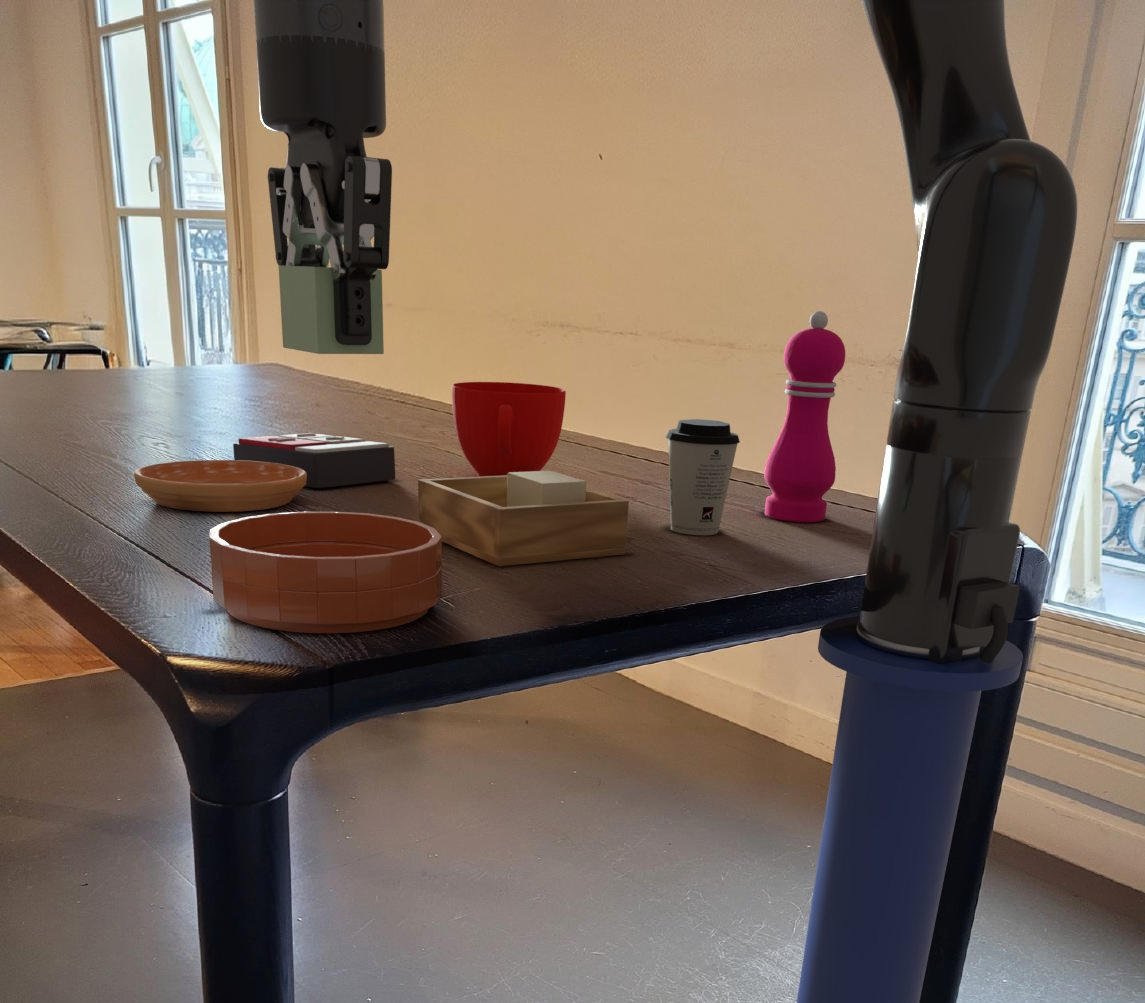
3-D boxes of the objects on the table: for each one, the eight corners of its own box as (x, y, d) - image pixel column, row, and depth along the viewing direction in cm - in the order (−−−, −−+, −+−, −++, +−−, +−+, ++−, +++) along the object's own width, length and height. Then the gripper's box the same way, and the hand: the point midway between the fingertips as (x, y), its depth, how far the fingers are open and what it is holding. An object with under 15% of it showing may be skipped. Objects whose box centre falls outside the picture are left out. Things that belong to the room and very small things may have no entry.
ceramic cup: (443, 489, 124) (443, 392, 120) (455, 465, 140) (456, 379, 136) (562, 494, 125) (566, 399, 121) (561, 470, 140) (565, 385, 136)
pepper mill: (801, 526, 115) (828, 312, 107) (745, 513, 120) (767, 308, 112) (843, 519, 119) (872, 313, 112) (788, 507, 124) (812, 309, 116)
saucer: (138, 487, 116) (135, 457, 115) (299, 487, 121) (297, 458, 120) (135, 518, 102) (131, 484, 101) (317, 516, 107) (315, 484, 106)
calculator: (311, 430, 135) (395, 439, 126) (313, 468, 136) (397, 479, 127) (230, 436, 127) (314, 446, 118) (234, 475, 129) (317, 488, 119)
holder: (625, 554, 99) (629, 500, 97) (498, 566, 92) (499, 509, 90) (536, 522, 110) (538, 473, 108) (418, 531, 103) (417, 479, 102)
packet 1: (384, 353, 74) (382, 269, 72) (318, 353, 71) (314, 266, 70) (345, 347, 78) (343, 268, 76) (282, 347, 76) (278, 265, 74)
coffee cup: (726, 540, 106) (737, 429, 103) (652, 533, 108) (661, 423, 104) (734, 526, 113) (745, 421, 109) (664, 520, 114) (672, 416, 110)
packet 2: (583, 538, 101) (586, 481, 99) (540, 542, 99) (542, 483, 97) (547, 525, 106) (550, 470, 104) (505, 528, 103) (507, 472, 101)
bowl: (479, 621, 77) (480, 547, 75) (259, 648, 69) (254, 567, 68) (384, 571, 89) (383, 506, 87) (186, 589, 81) (180, 518, 79)
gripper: (433, 34, 65) (435, 349, 71) (331, 65, 76) (341, 335, 82) (307, 13, 61) (321, 348, 67) (219, 48, 72) (238, 334, 78)
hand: (332, 340), depth 75 cm, fingers closed on packet 1, 6 cm apart
